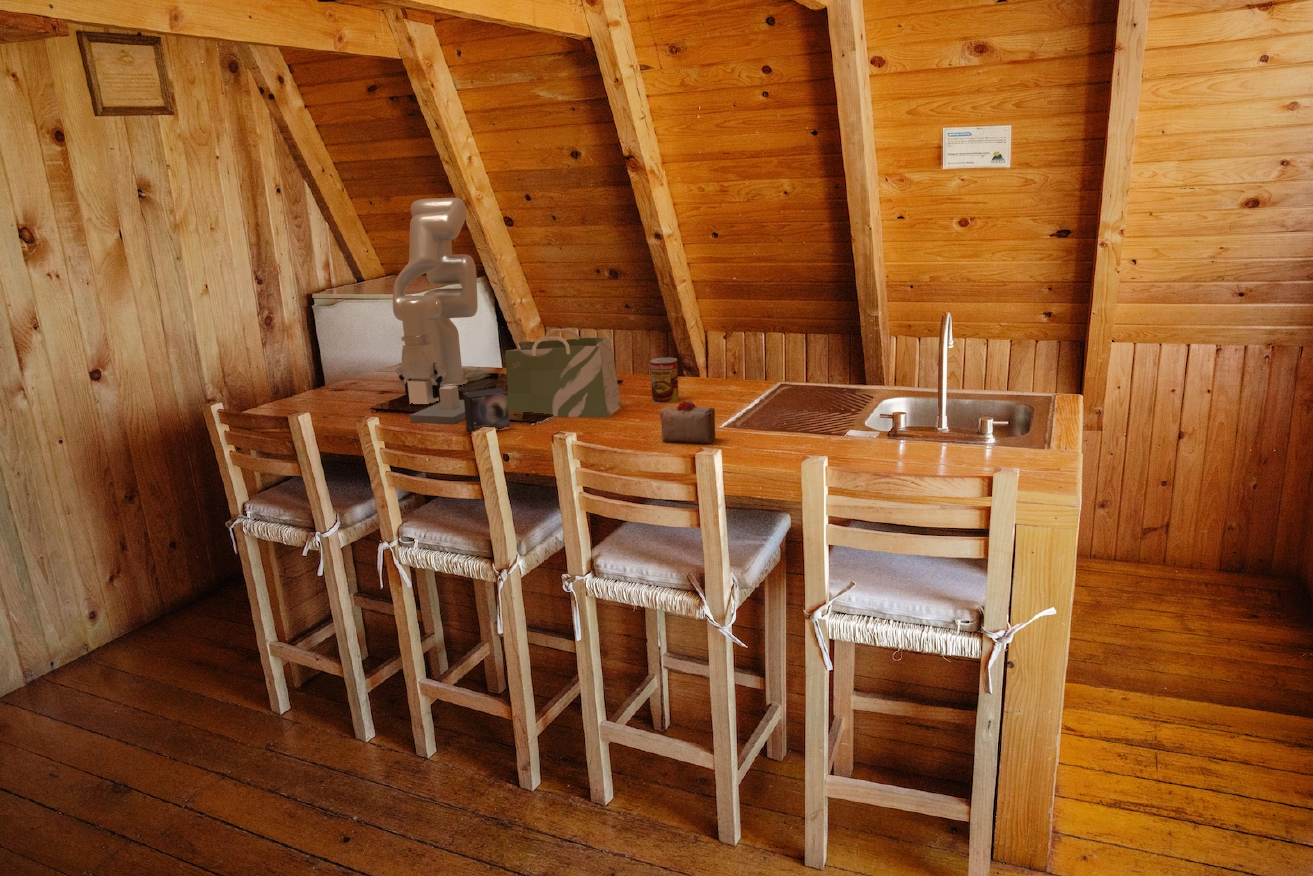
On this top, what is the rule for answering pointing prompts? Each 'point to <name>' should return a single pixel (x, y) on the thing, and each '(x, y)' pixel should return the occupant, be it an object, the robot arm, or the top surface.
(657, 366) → the canned food
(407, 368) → the robot arm
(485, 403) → the small box
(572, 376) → the grocery bag
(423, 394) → the tan cardboard cube
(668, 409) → the food item
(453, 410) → the post base
